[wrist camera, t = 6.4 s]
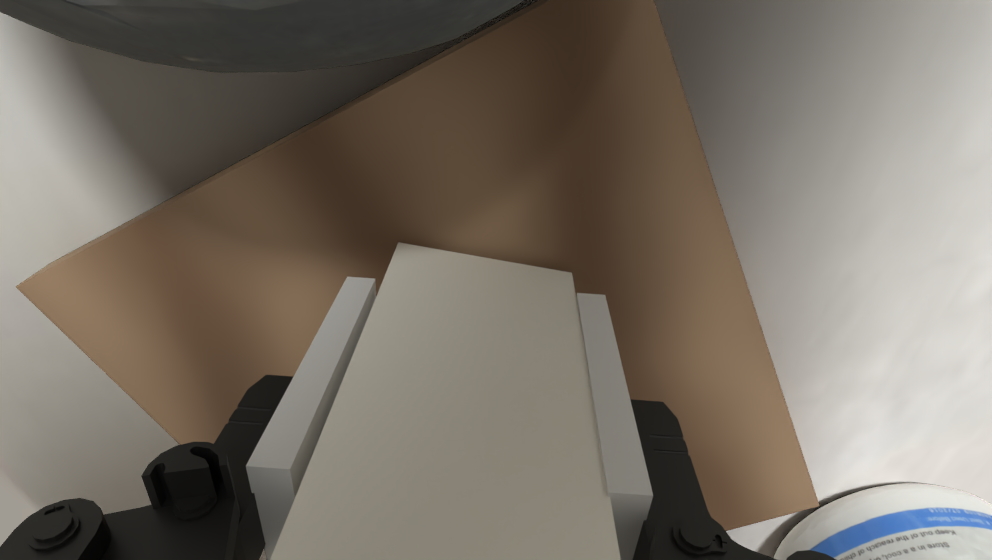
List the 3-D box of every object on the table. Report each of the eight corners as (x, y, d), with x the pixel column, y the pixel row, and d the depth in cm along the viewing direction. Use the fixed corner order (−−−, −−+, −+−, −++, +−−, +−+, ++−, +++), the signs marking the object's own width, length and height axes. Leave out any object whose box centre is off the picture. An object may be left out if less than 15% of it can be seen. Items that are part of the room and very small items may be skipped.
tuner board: (627, -48, 14) (639, -48, 13) (802, 474, 23) (821, 509, 21) (49, 263, 19) (11, 289, 18) (375, 593, 28) (368, 629, 26)
